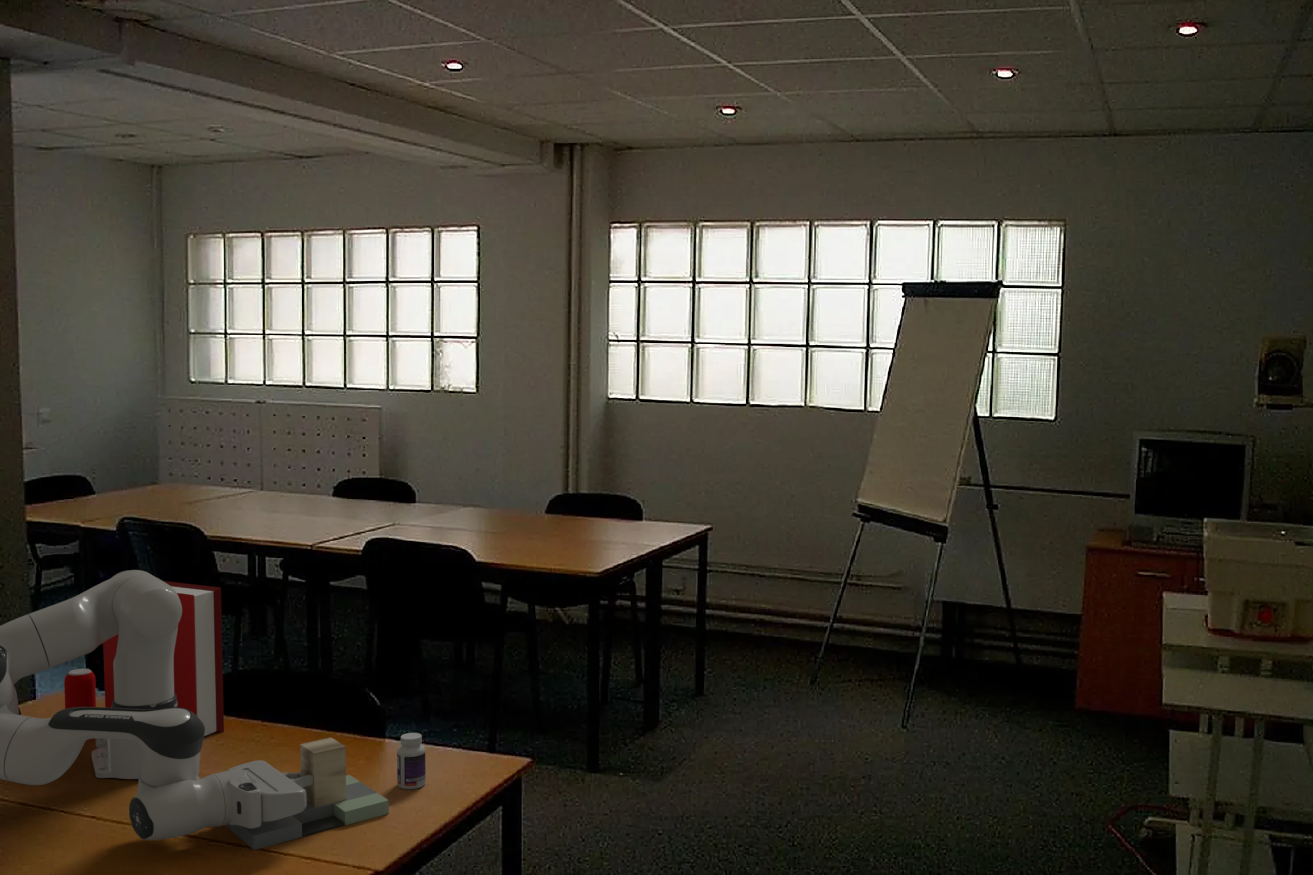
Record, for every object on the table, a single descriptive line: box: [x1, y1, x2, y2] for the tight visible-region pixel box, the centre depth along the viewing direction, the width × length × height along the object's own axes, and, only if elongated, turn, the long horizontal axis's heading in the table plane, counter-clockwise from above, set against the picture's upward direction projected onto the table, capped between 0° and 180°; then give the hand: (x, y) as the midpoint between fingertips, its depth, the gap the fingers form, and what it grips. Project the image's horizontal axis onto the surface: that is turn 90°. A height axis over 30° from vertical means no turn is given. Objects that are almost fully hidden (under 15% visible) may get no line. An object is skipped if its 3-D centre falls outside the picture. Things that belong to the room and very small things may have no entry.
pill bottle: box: [396, 732, 427, 790], centre depth 232 cm, size 5×5×10 cm
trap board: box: [225, 774, 390, 851], centre depth 217 cm, size 16×25×2 cm, turn 130°
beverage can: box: [63, 668, 97, 709], centre depth 266 cm, size 6×6×12 cm
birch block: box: [299, 737, 347, 808], centre depth 219 cm, size 6×6×10 cm
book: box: [102, 580, 225, 737], centre depth 262 cm, size 27×8×32 cm, turn 67°
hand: (309, 777), depth 216 cm, fingers closed
